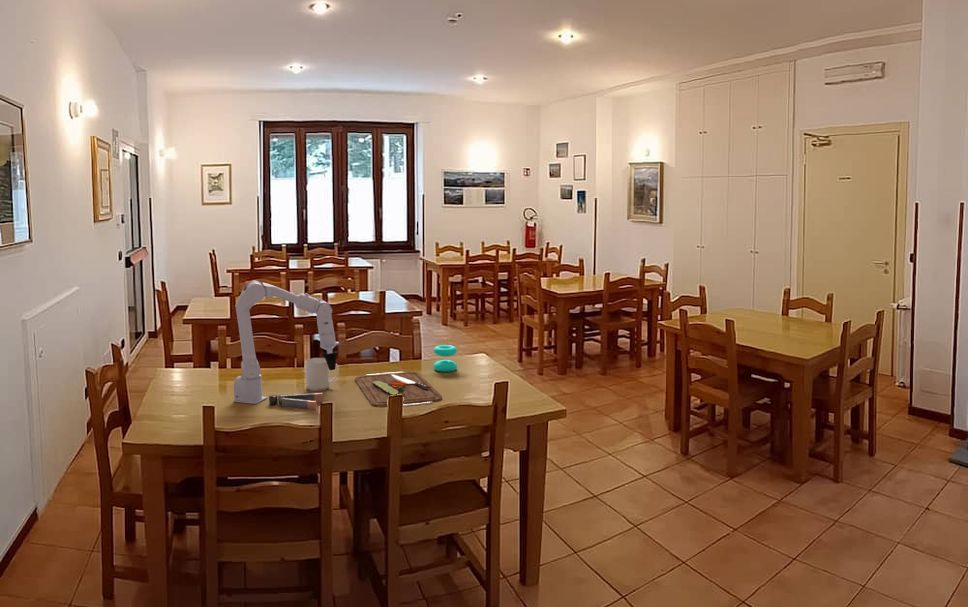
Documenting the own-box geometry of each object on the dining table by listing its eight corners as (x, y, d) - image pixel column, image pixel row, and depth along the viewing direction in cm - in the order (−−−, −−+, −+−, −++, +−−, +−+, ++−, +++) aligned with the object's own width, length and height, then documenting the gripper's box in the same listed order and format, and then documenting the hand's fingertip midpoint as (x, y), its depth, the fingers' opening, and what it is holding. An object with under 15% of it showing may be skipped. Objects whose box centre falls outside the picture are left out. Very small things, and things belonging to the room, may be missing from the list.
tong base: (267, 405, 272) (267, 397, 271) (272, 402, 275) (271, 394, 274) (315, 410, 267) (314, 402, 266) (319, 407, 270) (318, 399, 269)
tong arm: (278, 405, 271) (278, 397, 271) (278, 402, 274) (278, 394, 273) (323, 402, 275) (322, 394, 274) (322, 399, 277) (322, 392, 277)
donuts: (458, 349, 317) (435, 350, 315) (458, 372, 319) (435, 373, 317) (455, 343, 327) (432, 344, 325) (455, 366, 328) (432, 367, 327)
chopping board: (352, 378, 310) (352, 370, 310) (415, 372, 319) (415, 365, 319) (374, 410, 268) (374, 402, 268) (446, 403, 277) (446, 395, 277)
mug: (305, 392, 288) (304, 364, 286) (307, 385, 297) (306, 358, 295) (337, 390, 290) (336, 362, 288) (337, 384, 299) (337, 357, 297)
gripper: (338, 335, 277) (343, 370, 280) (335, 326, 290) (341, 360, 293) (319, 338, 275) (324, 373, 278) (317, 329, 289) (322, 363, 292)
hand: (331, 367), depth 286 cm, fingers open, 7 cm apart
